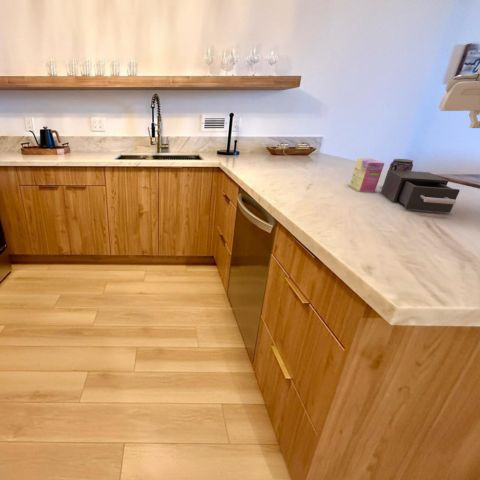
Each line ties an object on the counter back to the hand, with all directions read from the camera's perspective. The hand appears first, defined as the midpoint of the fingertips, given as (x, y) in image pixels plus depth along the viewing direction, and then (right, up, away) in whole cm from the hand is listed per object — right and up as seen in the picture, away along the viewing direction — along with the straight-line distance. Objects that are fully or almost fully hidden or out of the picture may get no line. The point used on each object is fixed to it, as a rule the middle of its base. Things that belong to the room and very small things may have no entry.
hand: (476, 128), depth 83 cm
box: (-8, -12, +36) cm, 38 cm away
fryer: (-1, -18, +22) cm, 28 cm away
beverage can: (+4, -12, +35) cm, 37 cm away
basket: (-5, -21, +12) cm, 25 cm away
